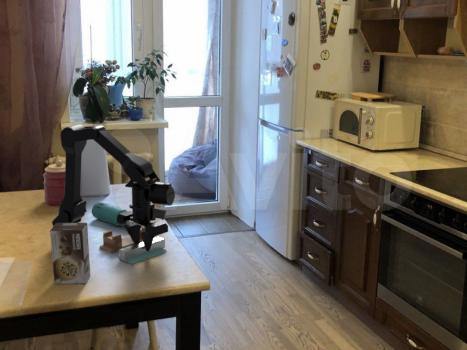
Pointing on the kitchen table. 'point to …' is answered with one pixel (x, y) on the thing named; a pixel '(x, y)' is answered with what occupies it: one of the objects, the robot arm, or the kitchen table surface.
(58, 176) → the canister
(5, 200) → the kitchen table surface
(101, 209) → the beverage bottle
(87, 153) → the plastic bottle
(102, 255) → the kitchen table surface
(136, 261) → the mat
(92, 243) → the kitchen table surface
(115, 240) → the rack
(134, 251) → the rail
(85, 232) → the coffee box
